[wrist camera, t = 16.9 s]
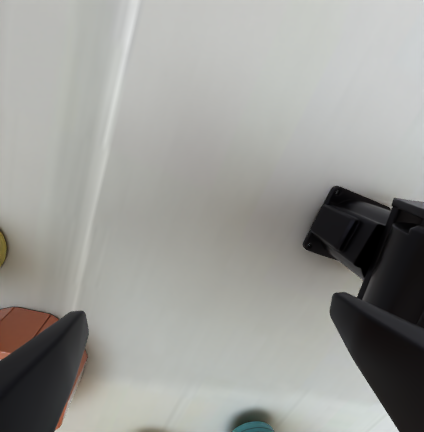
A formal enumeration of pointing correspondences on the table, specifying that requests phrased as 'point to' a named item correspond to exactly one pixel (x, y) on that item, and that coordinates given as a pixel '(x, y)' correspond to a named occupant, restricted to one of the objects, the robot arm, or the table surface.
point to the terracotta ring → (26, 330)
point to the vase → (2, 249)
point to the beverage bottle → (254, 427)
